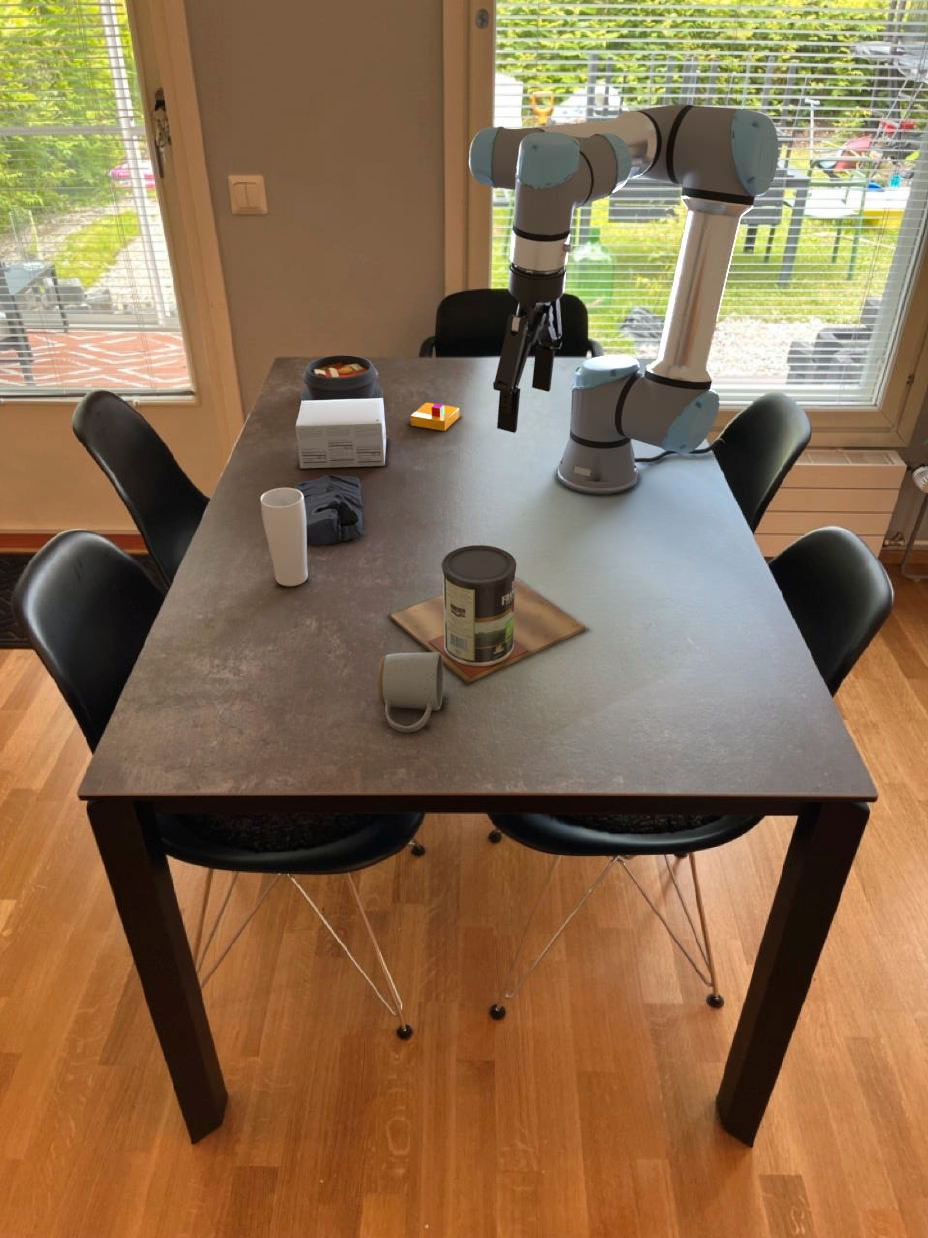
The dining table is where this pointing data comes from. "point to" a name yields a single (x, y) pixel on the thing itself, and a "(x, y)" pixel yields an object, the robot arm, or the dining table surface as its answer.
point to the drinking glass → (286, 534)
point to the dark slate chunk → (332, 509)
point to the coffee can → (478, 604)
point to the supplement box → (341, 433)
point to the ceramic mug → (411, 684)
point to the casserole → (340, 379)
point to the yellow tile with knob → (435, 416)
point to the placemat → (532, 632)
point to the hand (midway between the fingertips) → (524, 408)
